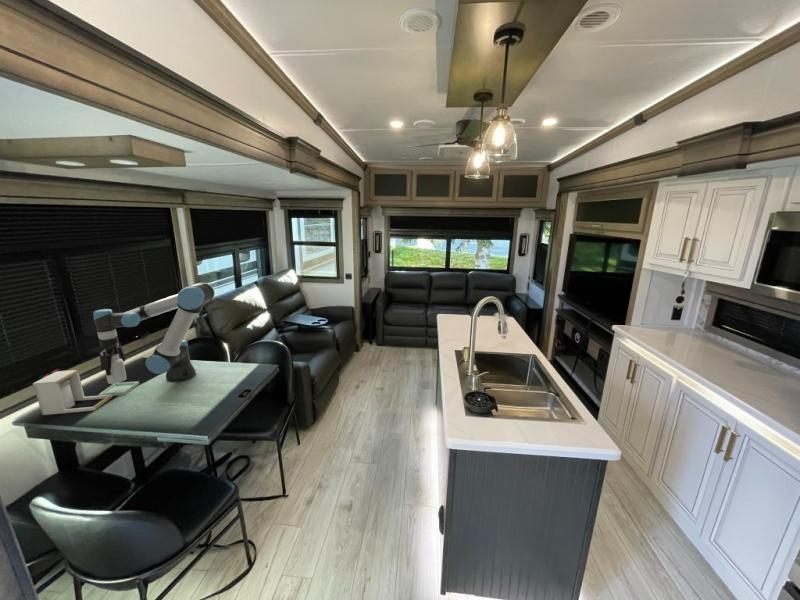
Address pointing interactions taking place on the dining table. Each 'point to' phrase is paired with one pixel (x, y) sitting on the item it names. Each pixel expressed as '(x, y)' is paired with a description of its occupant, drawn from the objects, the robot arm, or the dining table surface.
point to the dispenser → (63, 393)
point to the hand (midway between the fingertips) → (116, 376)
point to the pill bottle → (117, 370)
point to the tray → (120, 388)
